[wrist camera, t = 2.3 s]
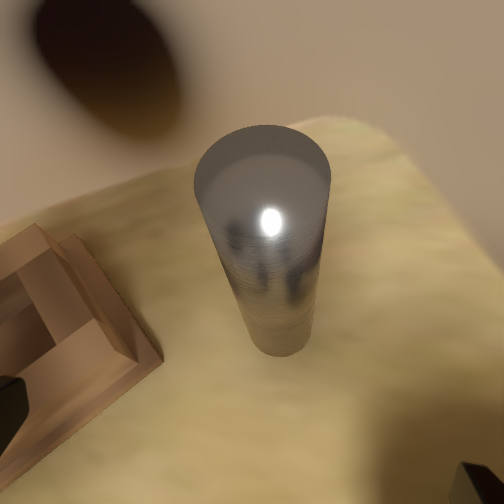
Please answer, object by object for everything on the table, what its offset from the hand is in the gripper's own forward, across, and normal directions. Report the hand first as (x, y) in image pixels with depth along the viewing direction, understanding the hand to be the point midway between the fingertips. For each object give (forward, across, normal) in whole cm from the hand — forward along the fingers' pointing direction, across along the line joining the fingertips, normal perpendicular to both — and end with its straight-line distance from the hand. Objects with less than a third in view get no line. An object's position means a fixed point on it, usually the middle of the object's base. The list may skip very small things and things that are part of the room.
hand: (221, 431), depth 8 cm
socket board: (+10, +13, +7) cm, 18 cm away
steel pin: (+13, 0, +5) cm, 14 cm away
